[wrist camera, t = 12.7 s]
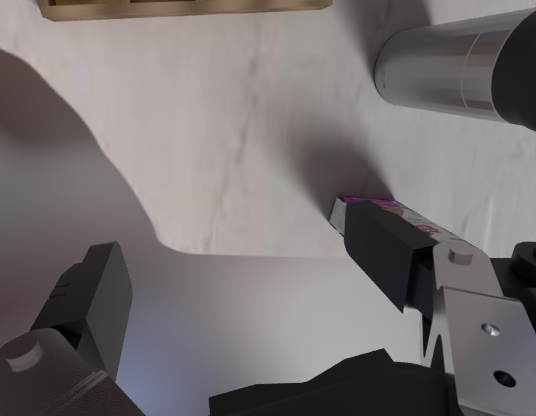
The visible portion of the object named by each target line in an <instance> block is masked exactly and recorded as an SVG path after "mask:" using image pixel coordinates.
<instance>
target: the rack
mask: <svg viewBox="0 0 536 416" xmlns="http://www.w3.org/2000/svg"><path fill="white" fill-rule="evenodd" d="M37 1H38V5H39V8H40V11H41V14H42V17H44V18H46V19H49V20H51V21H54V22H56V21H78V20H100V19H123V18H145V17H167V16H189V15H212V14H234V13H256V12H278V11H300V10H321V9H324V8H326V7H328V6H331V5H333V0H37Z"/></svg>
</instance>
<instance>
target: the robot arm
mask: <svg viewBox="0 0 536 416" xmlns="http://www.w3.org/2000/svg"><path fill="white" fill-rule="evenodd" d="M375 83H376V87H377V89H378V92H379V94H380V95H381V96H382V98H383V99H384V100H386V101H387V102H388V103H391V104H393V105H399V106H405V107H411V108H416V109H422V110H428V111H435V112H441V113H447V114H453V115H459V116H466V117H472V118H478V119H484V120H491V121H498V122H504V123H510V124H516V125H522V126H525V127H527V128H528V129H531V130H533V131H535V132H536V8H530V9H524V10H518V11H513V12H508V13H502V14H496V15H490V16H485V17H479V18H473V19H467V20H461V21H456V22H450V23H444V24H438V25H432V26H426V27H420V28H414V29H408V30H405V31H401V32H399V33H397V34H396V35H394V36H393V37H392V38H391V39H390V40H388V41H387V43H386V44H385V45H384V47H383V48H382V50H381V52H380V54H379V56H378V59H377V62H376V67H375ZM344 244H345V248H346V251H347V253H348V254H349V256H350V257H351V258H352V259H353V260H354V261H355V262H356V263H357V264H358V266H359V267H360V268H361V269H362V270H363V271H364V272H365V273H366V274H367V275H368V276H369V277H370V279H371V280H372V281H373V282H374V283H375V284H376V285H377V286H378V287H379V289H380V290H381V291H382V292H383V293H384V294H385V295H386V296H387V297H388V298H389V299H390V301H391V302H392V303H393V304H394V305H395V306H396V307H397V308H398V309H399V310H400V311H401V313H402V314H406V313H409V312H413V311H417V310H419V311H420V312H421V316H420V361H421V363H420V365H418V364H413V363H405V362H394V361H393V360H392V359H391V357H390V356H389V355H388V353H387V352H386V350H385V349H384V348H383V349H379V350H376V351H372V352H369V353H365V354H361V355H358V356H355V357H351V358H347V359H344V360H343V361H341V362H339V363H338V364H336V365H334V366H333V367H331V368H330V369H328V370H326V371H325V372H323V373H321V374H319V375H318V376H316V377H314V378H313V379H311V380H309V381H307V382H303V383H279V384H255V385H252V386H248V387H244V388H241V389H237V390H234V391H230V392H227V393H223V394H219V395H216V396H213V397H209V407H210V415H208V416H536V242H521V243H518V244H517V245H515V248H514V251H513V254H512V257H511V258H489V257H488V255H487V254H486V253H484V252H483V251H481V250H480V249H478V248H476V247H473V246H471V245H468V244H464V243H458V242H443V243H440V242H438V241H437V240H435V239H434V238H432V237H431V236H429V235H428V234H426V233H425V232H423V231H422V230H420V229H419V228H417V227H415V226H414V225H413V224H411V223H410V222H407V220H405V219H404V218H402V217H401V216H399V215H398V214H396V213H393V212H390V211H387V210H385V209H383V208H381V207H380V206H378V205H377V204H375V203H374V202H372V201H371V200H369V199H364V200H358V201H352V202H348V203H347V205H346V209H345V228H344ZM131 302H132V285H131V280H130V277H129V273H128V270H127V267H126V264H125V260H124V257H123V254H122V251H121V247H120V245H119V243H118V242H117V241H115V242H109V243H103V244H97V245H92V246H90V248H89V250H88V252H87V254H86V256H85V258H84V260H83V262H82V263H78V264H74V265H73V266H72V267H70V268H69V269H68V270H67V271H66V272H65V273H63V274H62V275H61V277H60V278H59V280H58V282H57V284H56V286H55V289H53V291H52V292H51V294H50V296H49V299H47V301H46V303H45V305H44V306H43V308H42V310H41V312H40V313H39V315H38V317H37V319H36V320H35V322H34V324H33V325H32V327H31V329H30V331H29V332H26V333H24V334H22V335H20V336H18V337H16V338H14V339H12V340H10V341H9V342H7V343H6V344H4V345H3V346H1V347H0V416H146V415H145V414H144V413H143V412H142V411H141V410H140V409H139V408H138V407H137V405H136V404H135V403H134V402H133V401H132V400H131V399H130V398H129V397H128V396H127V395H126V394H125V393H124V391H123V390H122V389H121V388H120V387H119V386H118V385H117V384H116V383H115V381H116V376H117V371H118V365H119V361H120V356H121V351H122V346H123V341H124V337H125V332H126V327H127V322H128V317H129V312H130V308H131Z"/></svg>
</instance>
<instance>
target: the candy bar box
mask: <svg viewBox="0 0 536 416" xmlns="http://www.w3.org/2000/svg"><path fill="white" fill-rule="evenodd" d="M364 199H368V198H356V197H345V196H336V199H335V202H334V207H333V211H332V214H331V217H330V221H329V223H330V224H331V225H332V226H333V227H334V228H335V229H336V230H337V231H338V232H339V233H340V234H341V235H342V236H343V237H344V228H345V209H346V205H347V203H348V202H352V201H358V200H364ZM369 200H371V201H372V202H374V203H375V204H377V205H378V206H380V207H381V208H383V209H385V210H387V211H390V212H393V213H396V214H398V215H399V216H401V217H402V218H404V219H405V220H407V222H410V223H411V224H413V225H414V226H415V227H417V228H419V229H420V230H422V231H423V232H425V233H426V234H428V235H429V236H431V237H432V238H434V239H435V240H437V241H438V242H440V243H443V242H458V243H464V244H468V245H471V246H473V245H472V244H470V243H468V242H466V241H465V240H463V239H461V238H459V237H458V236H456V235H454V234H453V233H451V232H449V231H448V230H446V229H444V228H442V227H440V226H439V225H437V224H435V223H433V222H432V221H430V220H428V219H427V218H425V217H423V216H421V215H419V214H418V213H416V212H414V211H413V210H411V209H409V208H407V207H406V206H404V205H402V204H401V203H399V202H397V201H393V200H380V199H369ZM473 247H475V246H473ZM476 248H477V247H476ZM481 251H482V250H481Z"/></svg>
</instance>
